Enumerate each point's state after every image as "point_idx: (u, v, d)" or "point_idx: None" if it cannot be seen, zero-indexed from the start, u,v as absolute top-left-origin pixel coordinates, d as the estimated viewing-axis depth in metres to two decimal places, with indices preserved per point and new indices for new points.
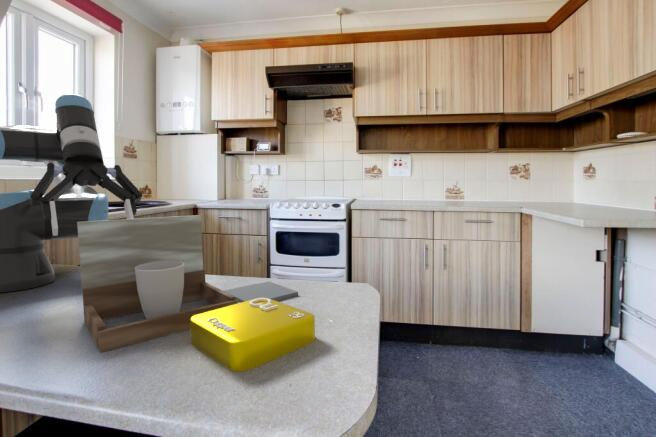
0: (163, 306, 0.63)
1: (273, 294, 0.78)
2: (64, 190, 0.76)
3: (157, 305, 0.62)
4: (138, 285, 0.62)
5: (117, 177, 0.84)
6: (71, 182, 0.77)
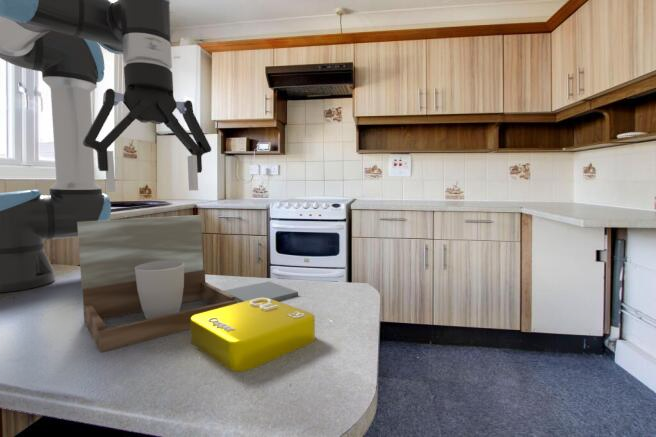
0: (163, 306, 0.63)
1: (273, 294, 0.78)
2: None
3: (157, 305, 0.62)
4: (138, 285, 0.62)
5: (186, 117, 0.67)
6: None
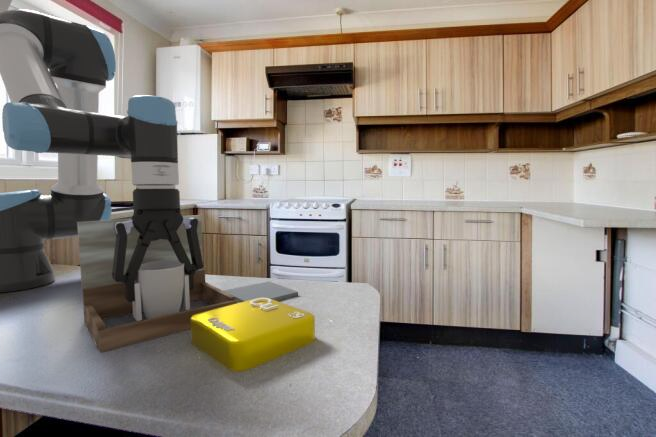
0: (163, 306, 0.63)
1: (273, 294, 0.78)
2: None
3: (157, 305, 0.62)
4: None
5: (188, 232, 0.68)
6: None
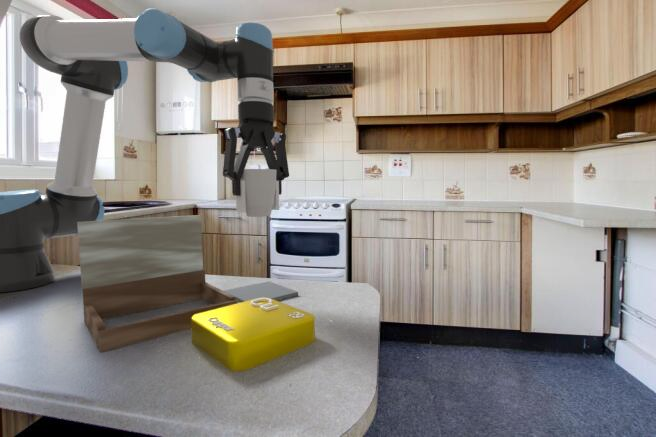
0: (263, 200, 0.75)
1: (273, 294, 0.78)
2: None
3: (258, 199, 0.75)
4: None
5: (278, 145, 0.81)
6: None
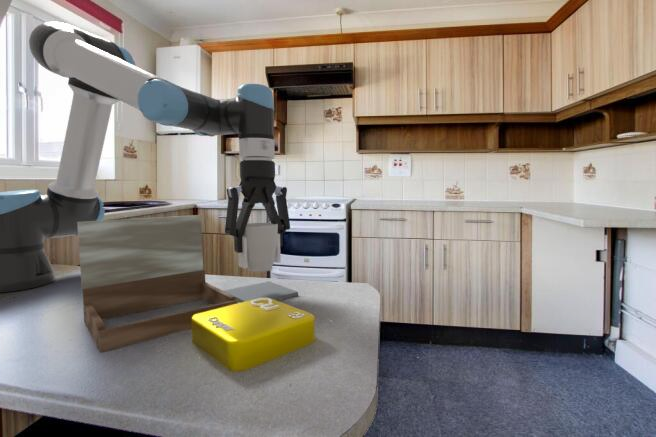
0: (265, 257, 0.77)
1: (273, 294, 0.78)
2: None
3: (260, 255, 0.76)
4: None
5: (279, 198, 0.82)
6: None
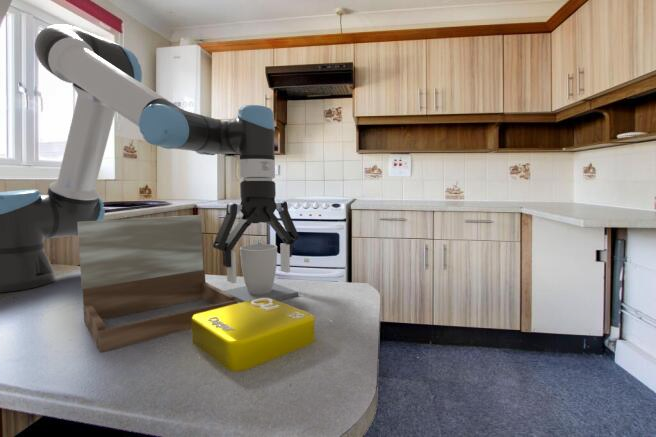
0: (264, 279, 0.77)
1: (273, 294, 0.78)
2: None
3: (260, 278, 0.77)
4: (244, 262, 0.77)
5: (281, 213, 0.83)
6: None
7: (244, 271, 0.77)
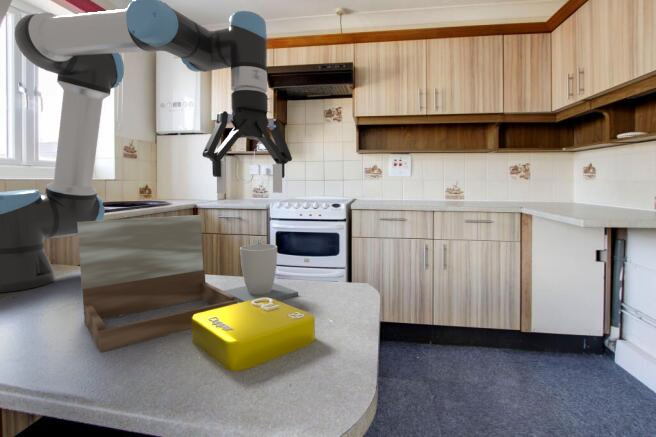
0: (264, 279, 0.77)
1: (273, 294, 0.78)
2: None
3: (260, 278, 0.77)
4: (244, 262, 0.77)
5: (274, 132, 0.81)
6: None
7: (244, 271, 0.77)
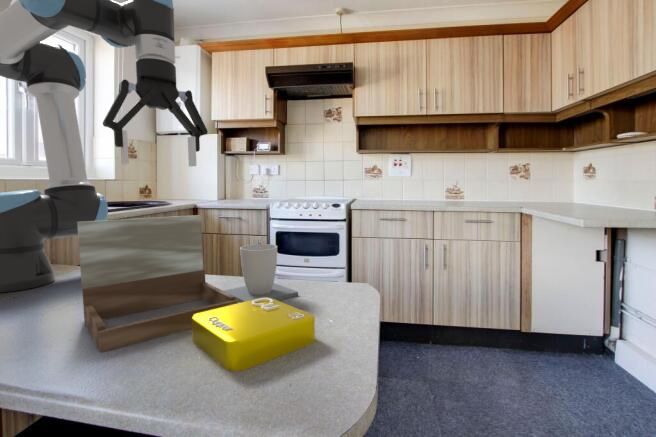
0: (264, 279, 0.77)
1: (273, 294, 0.78)
2: None
3: (260, 278, 0.77)
4: (244, 262, 0.77)
5: (186, 104, 0.80)
6: None
7: (244, 271, 0.77)
